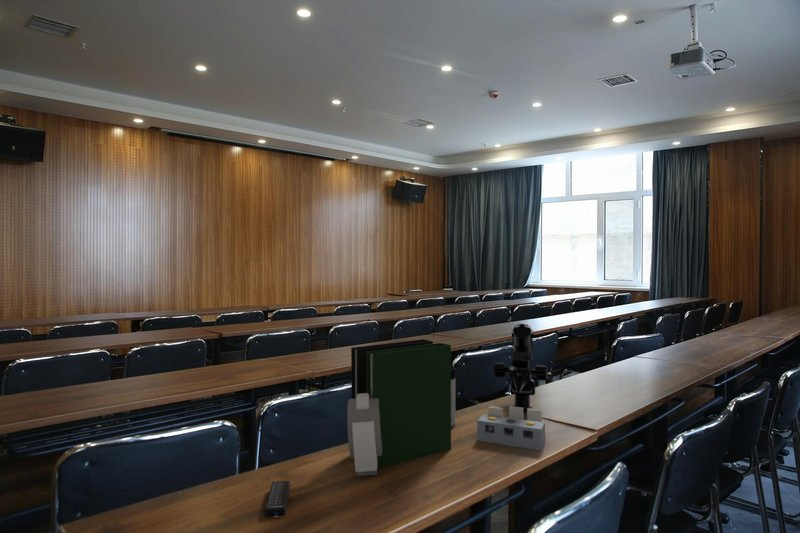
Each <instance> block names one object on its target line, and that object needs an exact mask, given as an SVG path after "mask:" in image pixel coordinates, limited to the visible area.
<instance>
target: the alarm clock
mask: <svg viewBox="0 0 800 533" xmlns="http://www.w3.org/2000/svg"><path fill="white" fill-rule="evenodd" d="M346 410H347V415H346V416H347V440H348V442H347V443H348V451H349V456H350V458H351V459H354V469H355V473H356V475H357V477H362V476H374V475H376V476H377V475H378V468H377V456H381V455H382V442H381V430H380V413H379V399H378V398H375V399H373V397H370V398H369V394H368V393H362V394H357V398H356V399H351V398H349V399H348V400H347V409H346Z"/></svg>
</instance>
